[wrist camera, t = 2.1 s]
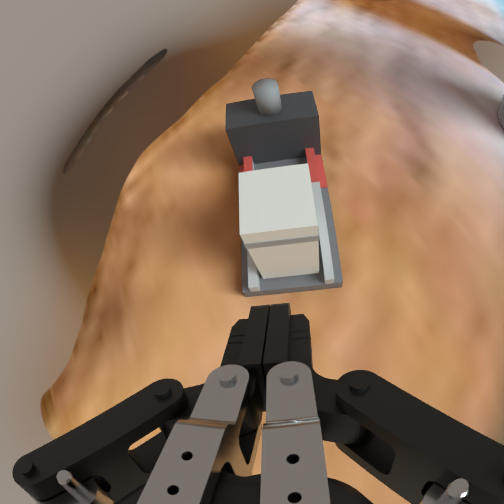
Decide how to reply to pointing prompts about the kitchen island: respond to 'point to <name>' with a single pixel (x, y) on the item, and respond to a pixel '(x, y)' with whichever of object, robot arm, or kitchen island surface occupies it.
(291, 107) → the grey boxy device
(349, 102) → the kitchen island surface
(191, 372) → the kitchen island surface
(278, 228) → the grooved white block
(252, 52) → the kitchen island surface
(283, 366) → the robot arm
